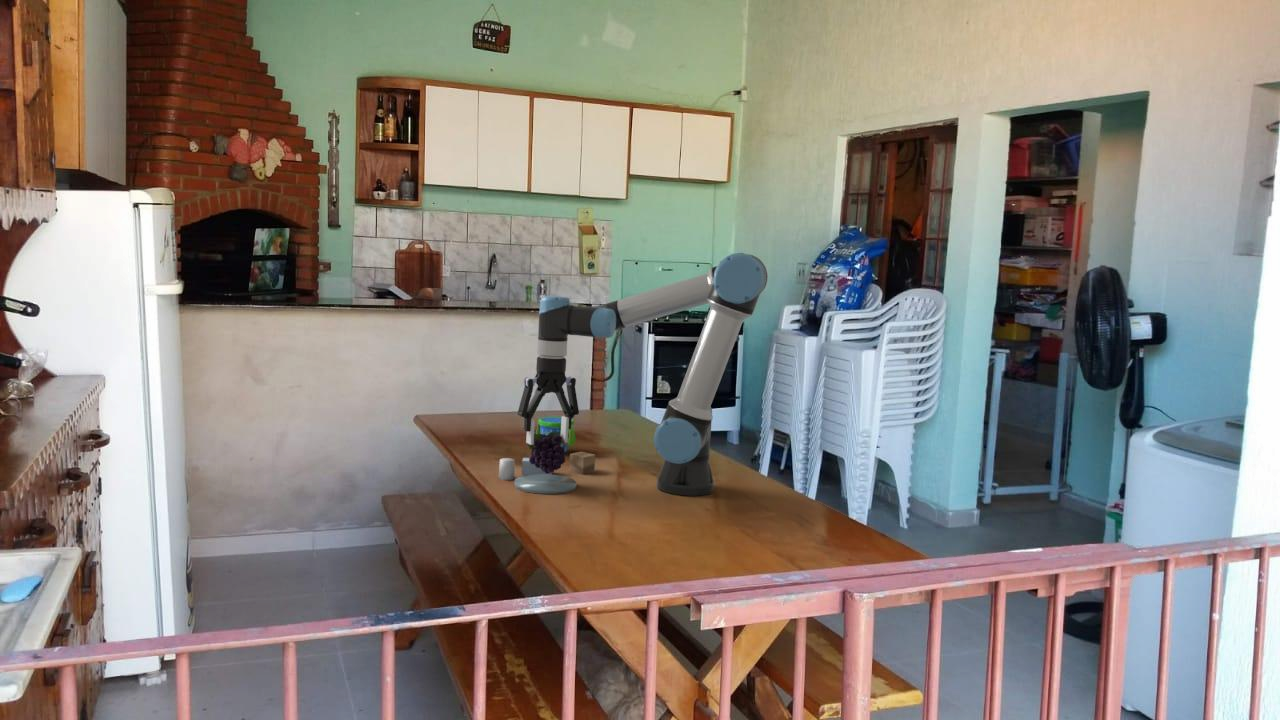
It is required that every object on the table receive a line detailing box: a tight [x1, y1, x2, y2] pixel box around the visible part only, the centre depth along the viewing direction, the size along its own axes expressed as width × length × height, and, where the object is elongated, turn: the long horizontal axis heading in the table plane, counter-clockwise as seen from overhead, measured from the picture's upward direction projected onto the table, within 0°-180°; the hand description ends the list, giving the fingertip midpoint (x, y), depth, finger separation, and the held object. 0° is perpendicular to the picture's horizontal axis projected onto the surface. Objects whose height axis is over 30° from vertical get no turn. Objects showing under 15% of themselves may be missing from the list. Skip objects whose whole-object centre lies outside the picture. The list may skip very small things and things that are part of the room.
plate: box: [514, 473, 577, 495], centre depth 243 cm, size 16×16×1 cm
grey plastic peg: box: [498, 457, 516, 481], centre depth 249 cm, size 4×4×5 cm
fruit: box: [526, 432, 566, 474], centre depth 242 cm, size 10×11×15 cm
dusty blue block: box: [521, 457, 552, 476], centre depth 256 cm, size 4×8×4 cm, turn 95°
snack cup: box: [535, 416, 576, 454], centre depth 283 cm, size 16×10×10 cm
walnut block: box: [568, 451, 596, 476], centre depth 262 cm, size 5×5×5 cm
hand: (547, 442), depth 242 cm, fingers closed on fruit, 9 cm apart
